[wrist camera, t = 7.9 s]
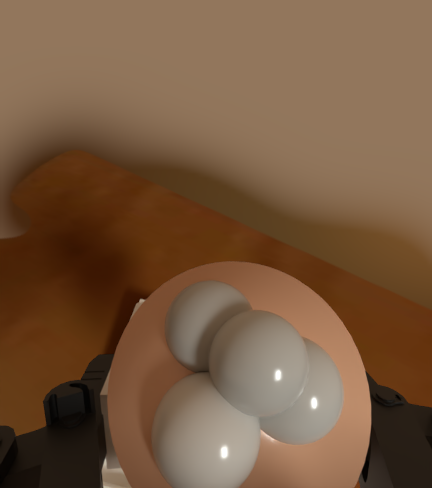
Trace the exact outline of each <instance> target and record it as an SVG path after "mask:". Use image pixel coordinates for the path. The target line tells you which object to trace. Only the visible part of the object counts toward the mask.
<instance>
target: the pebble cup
mask: <svg viewBox="0 0 432 488" xmlns="http://www.w3.org/2000/svg"><path fill="white" fill-rule="evenodd" d="M107 407H108V422H109V427H110V432H111V438H112V443H113V446H114V449H115V452H116V455H117V458H118V461H119V464H120V466H121V468H122V470H123V472H124V474H125V476H126V478H127V480H128V482H129V484H130V486H131V487H132V488H354V487H355V485H356V483H357V481H358V478H359V476H360V473H361V471H362V468H363V466H364V463H365V459H366V454H367V450H368V446H369V440H370V431H371V400H370V392H369V385H368V381H367V377H366V373H365V369H364V366H363V363H362V360H361V357H360V355H359V352H358V350H357V348H356V346H355V344H354V342H353V339H352V337H351V335H350V334H349V332H348V331H347V329H346V327H345V326H344V324H343V323H342V321H341V320H340V319H339V317H338V316H337V315H336V314H335V312H334V311H333V310H332V309H331V307H330V306H329V305H328V304H327V303H326V302H325V301H324V300H323V299H322V298H321V297H320V296H318V295H317V294H316V293H315V292H314V291H312V290H311V289H310V288H309V287H307V286H306V285H304V284H303V283H301V282H300V281H298V280H297V279H295V278H293V277H291V276H289V275H287V274H285V273H283V272H281V271H278V270H276V269H273V268H270V267H267V266H263V265H259V264H254V263H248V262H232V261H230V262H217V263H212V264H207V265H202V266H199V267H196V268H193V269H190V270H188V271H186V272H184V273H181V274H179V275H177V276H175V277H174V278H172V279H171V280H169V281H167V282H166V283H164V284H163V285H162V286H161V287H159V288H158V289H157V290H156V291H154V292H153V293H152V294H151V295H150V296H149V297H148V298H147V299H146V300H145V301H144V302H143V303H142V304H141V306H140V307H139V308H138V310H137V311H136V312H135V314H134V315H133V316H132V318H131V320H130V321H129V323H128V325H127V326H126V328H125V330H124V332H123V334H122V336H121V338H120V341H119V343H118V345H117V348H116V351H115V354H114V358H113V361H112V365H111V370H110V376H109V381H108V397H107Z"/></svg>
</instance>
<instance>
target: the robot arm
mask: <svg viewBox="0 0 432 488" xmlns="http://www.w3.org/2000/svg"><path fill="white" fill-rule="evenodd" d="M141 304H142V303H136V306H135V308H134V311H133V313H132V316H133V315H134V314H135V312H136V311H137V310H138V308H139V307H140V306H141ZM132 316H131V318H132ZM131 318H130V320H131ZM113 358H114V354H104V355H98V356H97V357H96V358H94V359H93V360H92V361H91V362H90V363H89V365H88V367H87V369H86V371H85V373H84V374H83V376H82V378H81V380H74V381H69V382H66V383H63V384H60V385H59V386H57V387H55V388H54V389H52V390H51V391H50V392H49V393H48V394H47V395H46V397H45V399H44V401H43V404H44V410H45V417H46V424H47V426H45V427H43V428H41V429H38V430H36V431H32V432H29V433H26V434H23V435H19V436H15V432H14V430H13V428H11V427H9V426H0V488H103V479H102V468H103V464H104V461H105V457H106V464H107V469H117V468H121V466H120V464H119V461H118V458H117V455H116V452H115V449H114V446H113V443H112V438H111V432H110V427H109V422H108V407H107V397H108V381H109V376H110V370H111V365H112V361H113ZM365 373H366V377H367V381H368V385H369V392H370V400H371V431H370V440H369V446H368V450H367V454H366V459H365V463H364V466H363V468H362V471H361V473H360V476H359V483H360V487H361V488H432V408H431V407H425V406H419V405H413V404H409V403H408V402H407V401H406V400H405V398H404V397H403V396H402V395H400V394H399V393H398V392H396V391H395V390H392V389H390V388H388V387H385V386H381V385H378V384H377V383H376V382H375V381H374V380H373V379H372V378H371V376H370V375H369V374H368V373H367V372H366V371H365Z"/></svg>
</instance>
